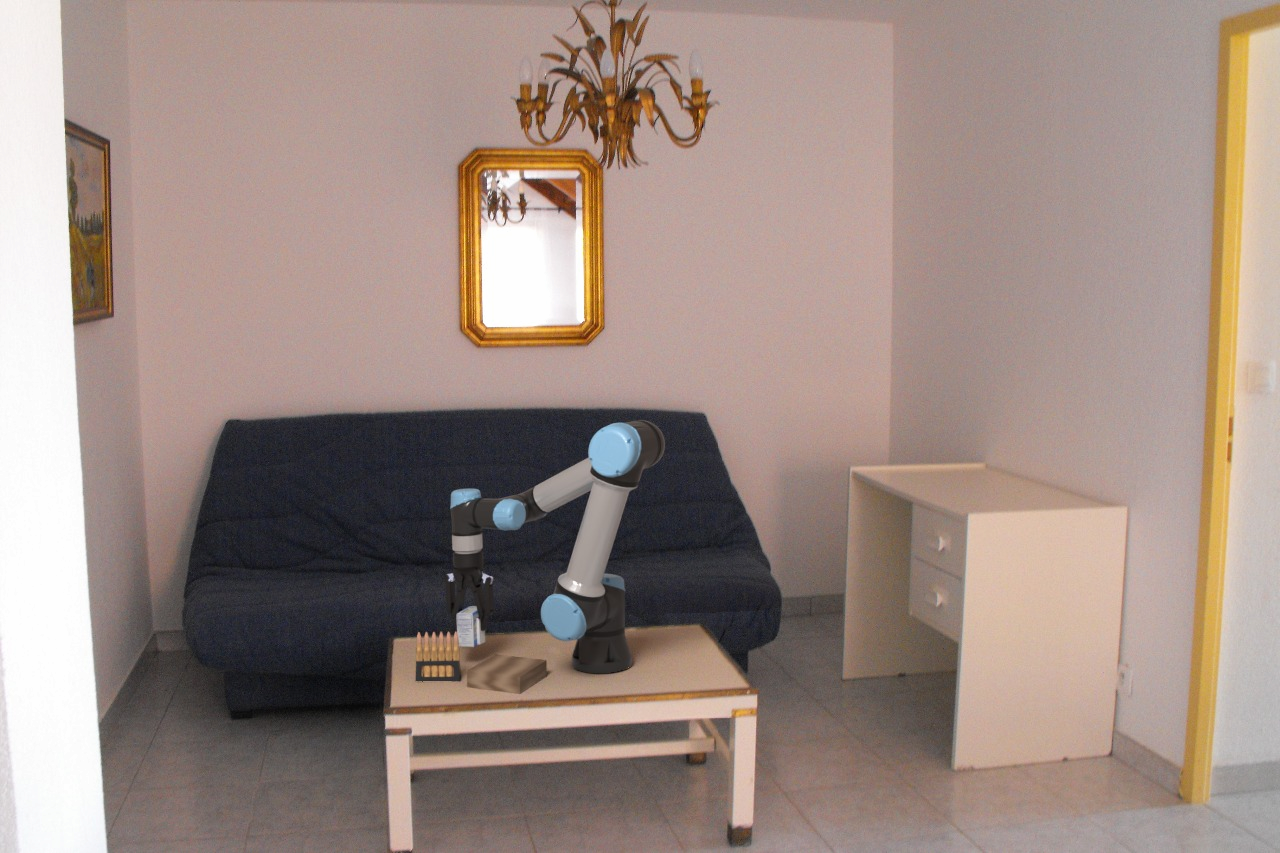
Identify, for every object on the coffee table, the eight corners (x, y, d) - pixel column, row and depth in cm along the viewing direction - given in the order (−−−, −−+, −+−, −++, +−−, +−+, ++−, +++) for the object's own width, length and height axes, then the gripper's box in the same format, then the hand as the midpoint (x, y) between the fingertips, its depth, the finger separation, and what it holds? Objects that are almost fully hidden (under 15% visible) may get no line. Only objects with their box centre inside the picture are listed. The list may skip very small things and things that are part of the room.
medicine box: (474, 647, 279) (472, 613, 278) (457, 647, 280) (456, 613, 279) (485, 639, 286) (484, 606, 286) (469, 638, 287) (467, 605, 287)
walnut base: (546, 676, 273) (546, 660, 272) (520, 693, 260) (519, 676, 259) (495, 670, 278) (495, 654, 277) (467, 686, 265) (466, 670, 264)
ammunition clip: (461, 678, 271) (460, 630, 270) (460, 681, 269) (459, 632, 268) (416, 679, 270) (415, 630, 269) (415, 682, 269) (414, 633, 268)
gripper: (506, 549, 281) (510, 640, 283) (444, 546, 288) (448, 635, 290) (492, 555, 274) (495, 648, 276) (428, 552, 281) (432, 643, 283)
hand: (471, 641), depth 283 cm, fingers closed on medicine box, 5 cm apart
